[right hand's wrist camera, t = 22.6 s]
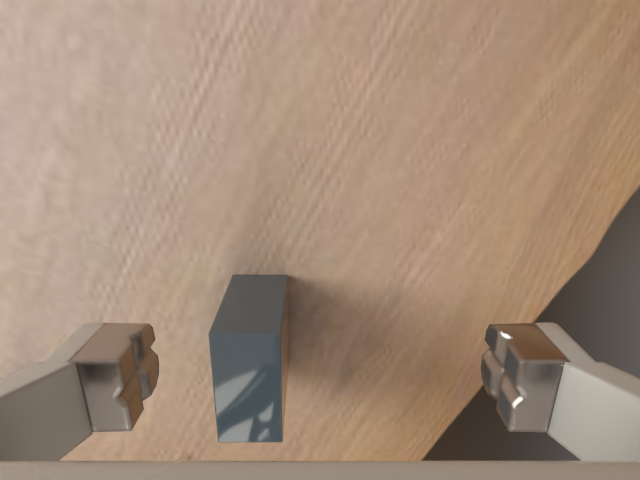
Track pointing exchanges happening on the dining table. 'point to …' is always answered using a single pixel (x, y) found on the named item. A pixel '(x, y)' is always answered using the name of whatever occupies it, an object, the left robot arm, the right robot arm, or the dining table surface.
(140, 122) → the dining table surface
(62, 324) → the dining table surface
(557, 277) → the dining table surface
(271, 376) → the brick
